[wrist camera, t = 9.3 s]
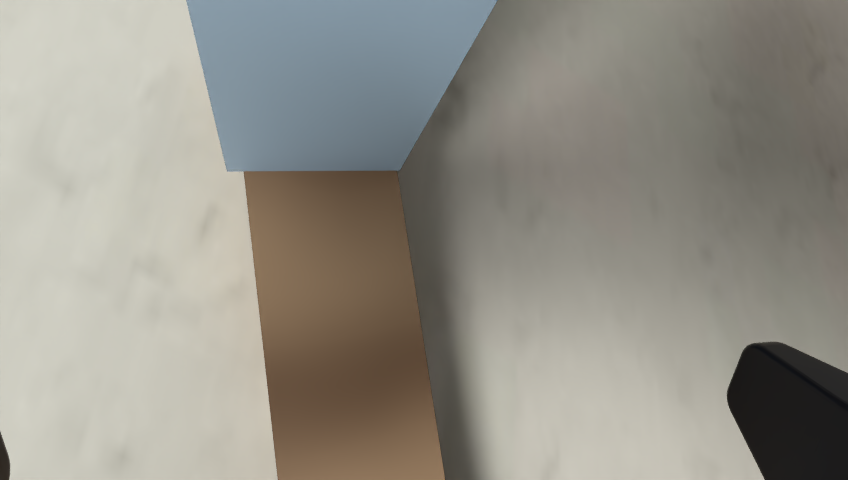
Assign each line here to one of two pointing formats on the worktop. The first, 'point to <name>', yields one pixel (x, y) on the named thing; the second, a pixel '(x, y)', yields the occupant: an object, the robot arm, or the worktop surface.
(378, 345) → the rail
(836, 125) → the worktop surface
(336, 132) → the post
